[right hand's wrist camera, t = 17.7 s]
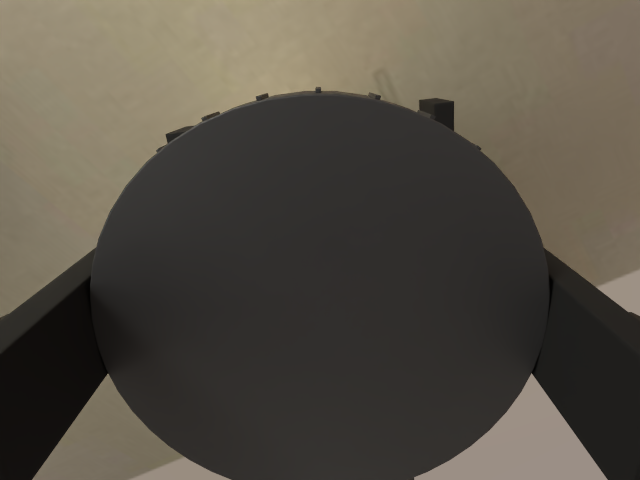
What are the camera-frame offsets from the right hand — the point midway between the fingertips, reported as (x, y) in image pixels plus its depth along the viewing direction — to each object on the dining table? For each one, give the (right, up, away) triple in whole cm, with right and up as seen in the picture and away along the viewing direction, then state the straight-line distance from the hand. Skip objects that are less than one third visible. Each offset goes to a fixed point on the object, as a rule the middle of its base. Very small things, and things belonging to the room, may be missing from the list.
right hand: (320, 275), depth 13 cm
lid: (0, -1, -3) cm, 3 cm away
